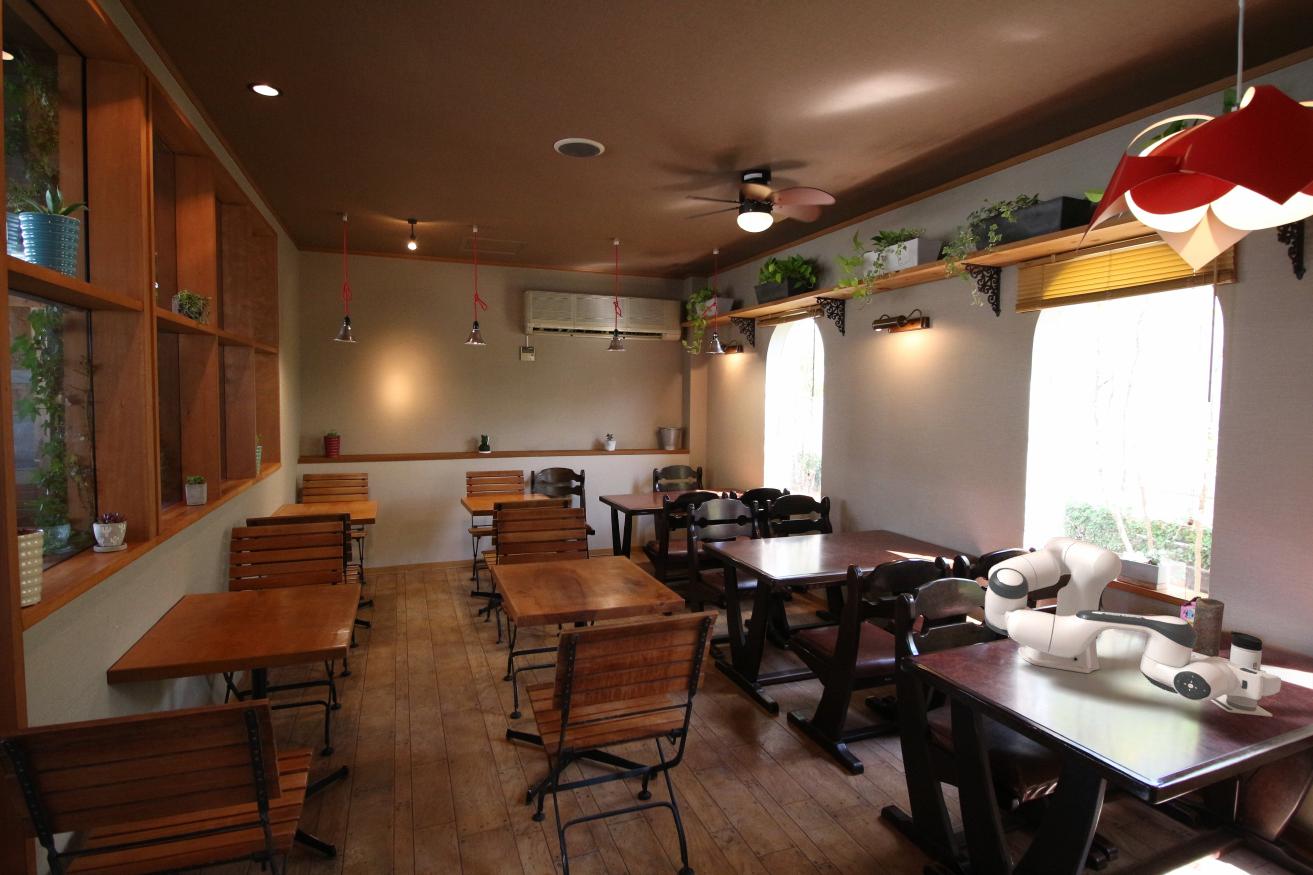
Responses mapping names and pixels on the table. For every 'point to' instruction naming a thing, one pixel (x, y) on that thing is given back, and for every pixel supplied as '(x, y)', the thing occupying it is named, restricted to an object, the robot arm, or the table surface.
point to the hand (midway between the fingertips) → (1239, 666)
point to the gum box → (1189, 610)
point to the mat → (1222, 703)
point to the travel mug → (1245, 664)
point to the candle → (1208, 626)
